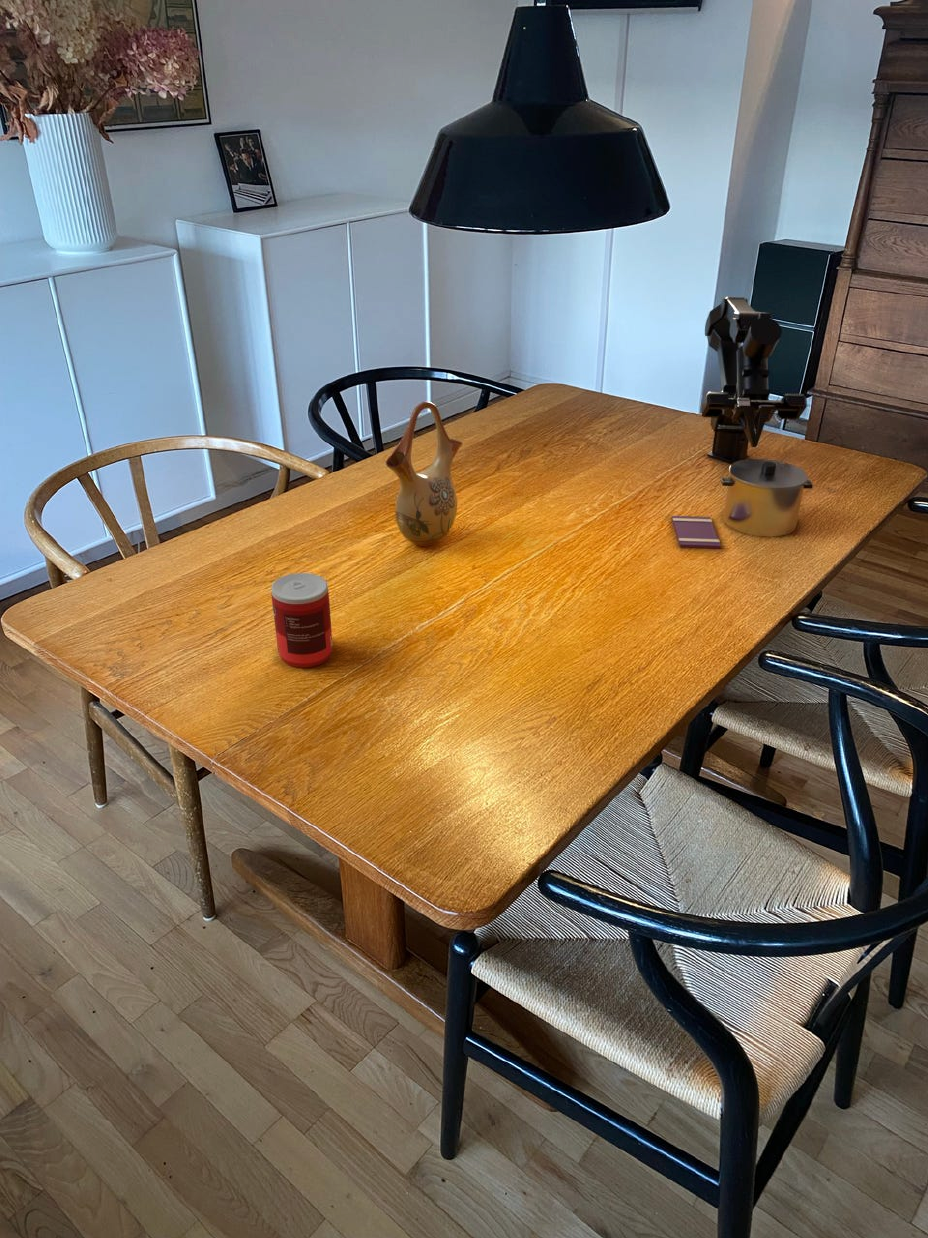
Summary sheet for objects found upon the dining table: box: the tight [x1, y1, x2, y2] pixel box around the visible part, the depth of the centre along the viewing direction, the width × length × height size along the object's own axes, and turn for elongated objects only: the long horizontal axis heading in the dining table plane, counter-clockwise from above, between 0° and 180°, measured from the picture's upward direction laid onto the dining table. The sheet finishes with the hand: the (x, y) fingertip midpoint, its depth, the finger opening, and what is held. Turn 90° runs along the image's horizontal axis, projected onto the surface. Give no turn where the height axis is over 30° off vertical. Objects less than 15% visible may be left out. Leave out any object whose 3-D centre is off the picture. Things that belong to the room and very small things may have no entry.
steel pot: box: [719, 458, 814, 538], centre depth 168 cm, size 14×16×11 cm
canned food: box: [270, 572, 334, 669], centre depth 129 cm, size 8×8×11 cm
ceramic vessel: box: [385, 401, 463, 547], centre depth 157 cm, size 16×9×25 cm, turn 136°
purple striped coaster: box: [671, 515, 722, 550], centre depth 166 cm, size 12×7×1 cm, turn 176°
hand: (754, 446), depth 176 cm, fingers closed
